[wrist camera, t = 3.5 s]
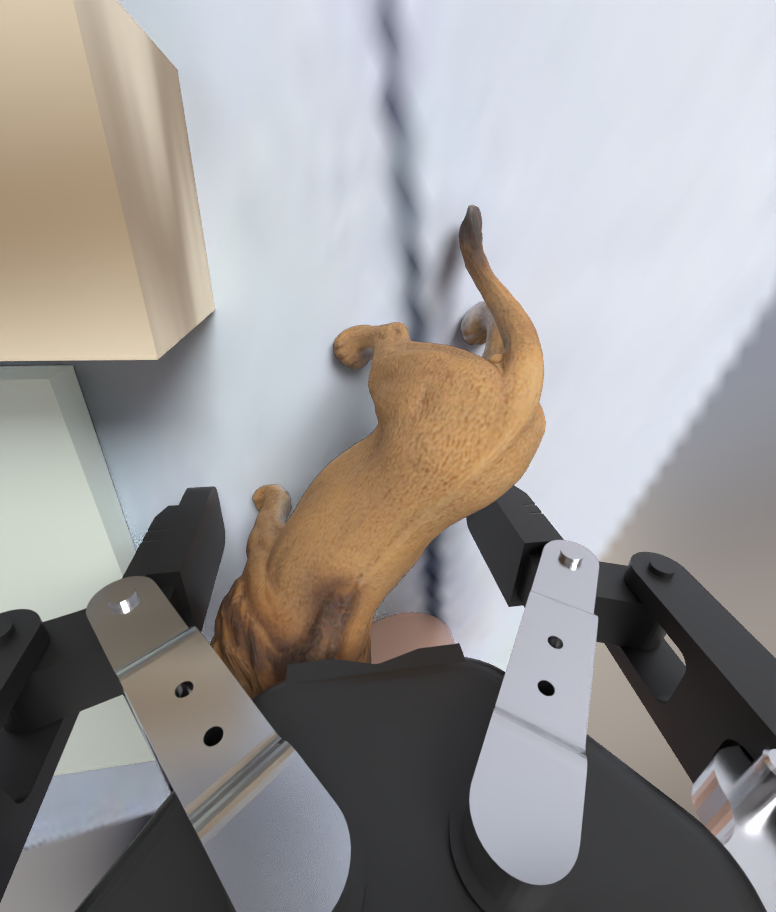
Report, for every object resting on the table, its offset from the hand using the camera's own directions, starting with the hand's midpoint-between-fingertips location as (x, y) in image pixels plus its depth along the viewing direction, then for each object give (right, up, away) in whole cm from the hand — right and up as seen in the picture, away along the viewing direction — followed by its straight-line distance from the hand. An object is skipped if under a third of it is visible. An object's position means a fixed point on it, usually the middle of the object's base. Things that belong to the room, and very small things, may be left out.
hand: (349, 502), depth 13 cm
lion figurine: (0, +2, +1) cm, 2 cm away
